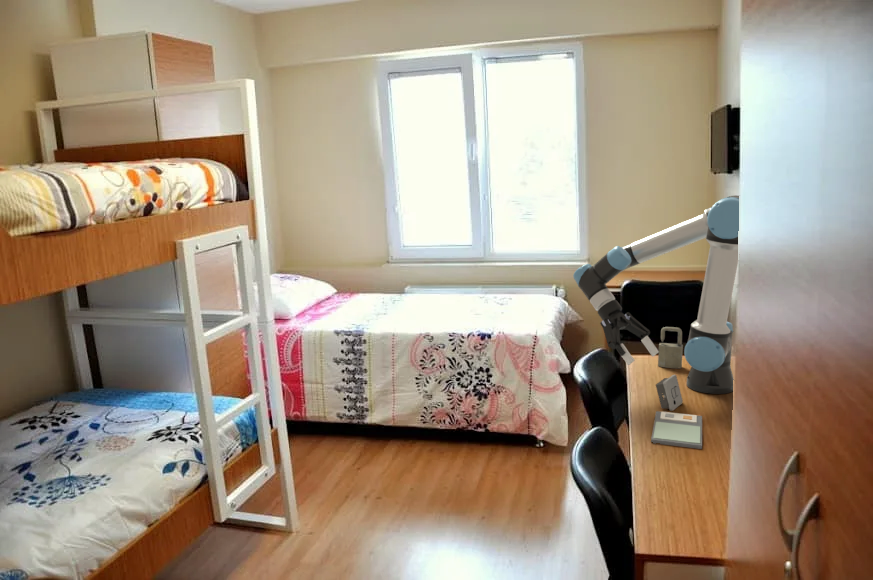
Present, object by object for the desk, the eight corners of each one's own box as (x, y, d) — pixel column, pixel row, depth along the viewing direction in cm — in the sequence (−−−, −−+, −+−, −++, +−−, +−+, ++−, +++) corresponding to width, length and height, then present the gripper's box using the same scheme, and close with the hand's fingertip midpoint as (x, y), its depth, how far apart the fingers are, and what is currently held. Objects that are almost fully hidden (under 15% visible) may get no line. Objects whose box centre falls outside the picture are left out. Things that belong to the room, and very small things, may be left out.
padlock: (658, 363, 253) (660, 325, 250) (681, 366, 250) (683, 326, 247) (657, 366, 250) (659, 327, 247) (681, 369, 246) (682, 329, 243)
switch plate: (656, 414, 204) (656, 409, 204) (701, 419, 200) (702, 414, 199) (650, 442, 184) (651, 437, 184) (701, 449, 180) (702, 444, 179)
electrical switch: (672, 412, 206) (671, 382, 205) (656, 410, 209) (654, 381, 208) (683, 403, 213) (681, 374, 212) (666, 401, 216) (665, 373, 215)
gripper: (621, 306, 234) (658, 356, 226) (575, 318, 219) (613, 372, 210) (635, 293, 229) (673, 344, 221) (589, 304, 214) (628, 360, 205)
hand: (643, 358), depth 215 cm, fingers open, 13 cm apart
